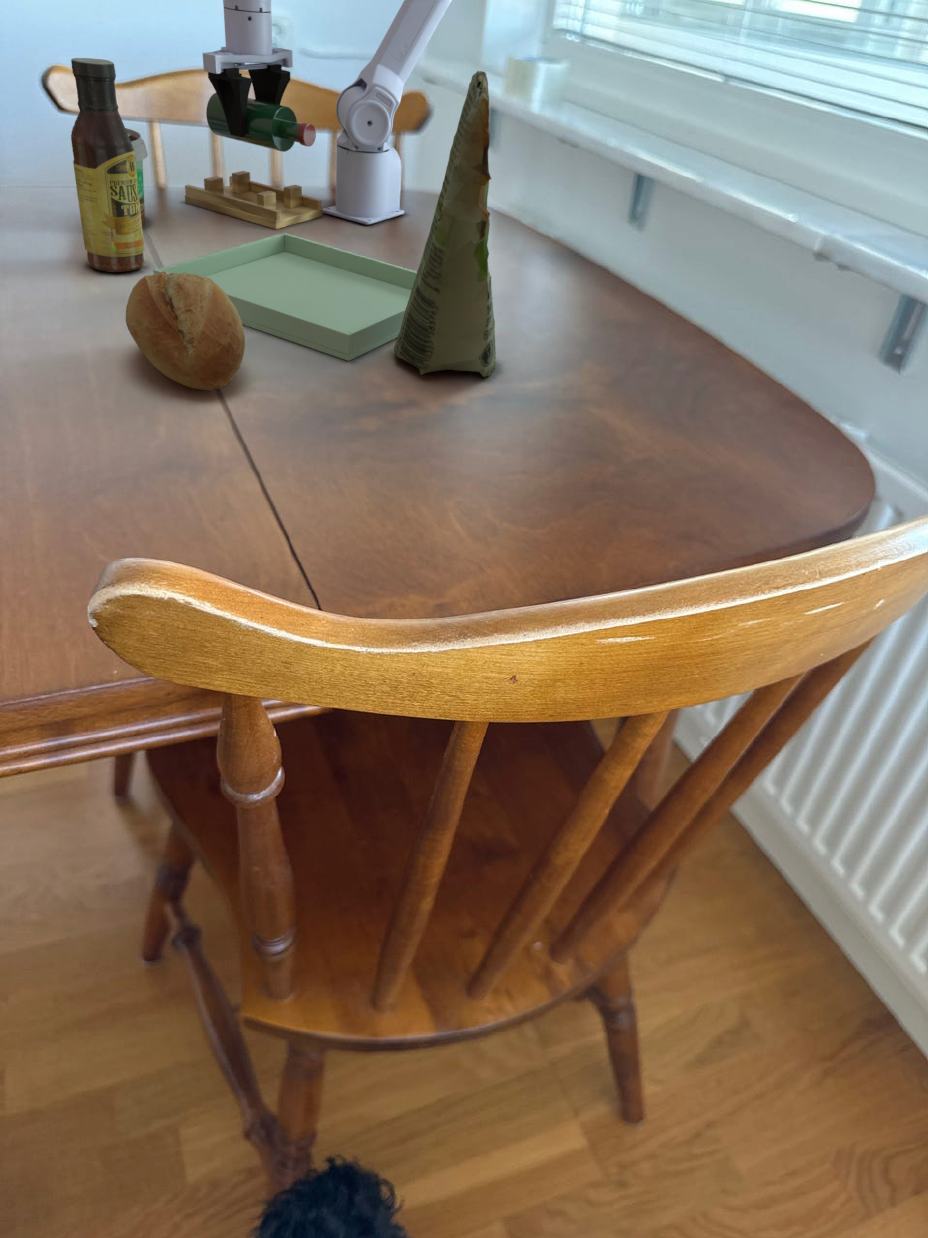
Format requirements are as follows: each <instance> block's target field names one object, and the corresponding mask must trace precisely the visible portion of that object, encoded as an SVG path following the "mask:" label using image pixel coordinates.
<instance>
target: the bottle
mask: <svg viewBox="0 0 928 1238" xmlns="http://www.w3.org/2000/svg"><path fill="white" fill-rule="evenodd" d="M206 104H207V105H206V112H205V114H206V115H205V116H206V121H207V125H208V127H209V129H210V130H211V132H212V133H213V134H214V135H215V136H220V137H224V138H227V139H231V140H235V141H238V142H243V143H247V144H250V145H255V146H259V147H262V148H267V149H271V150H275V151H278V152H281V153H282V152H283V153H284V152H288V151H290V150H291V149H292V148H293V146H294V145H295V143H299V144H300V145H301V146H304V147H309V148H310V147H312V146H313V145H314V143H315V141H316V138H317V131H316V127H315V126H314V125H313V124H312V123H309V122H302V123H301V122H298V120H297V116H296V114H295V112H294V110H293V109H291V107H290V106H286V105H282V104H280V105H278V104H273V103H269V102H265V101H260V100H256V99H255V98H252V97H248V101H247V125H246V136H245V137H238V136H234V135H230V131H229V128H228V124H227V120H226V117H225V114H224V111H223V107H222V105H221V102H220V100H219V97H218V95H217V93H216V92H214V93H212V95H211V96H210V97H209V99H208V102H207V103H206Z"/></svg>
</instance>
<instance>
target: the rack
mask: <svg viewBox="0 0 928 1238" xmlns="http://www.w3.org/2000/svg"><path fill="white" fill-rule="evenodd" d="M228 179H229V180H228V181H229V185H226V186H224V178H223V177H221V176H217V175H215V176H211V177H210V176H209V177H206V178H203V185H204V186H203V187H204V188H202V187H199V186H196V185H192V184H185V185H184V190H185V192H184V193H185V194H184V203H185V204H188V205H192V206H196V207H199V208H202V209H204V210H205V209H206V210H209V211H212V212H215V213H219V214H223V215H226V216H229V217H232V218H237V219H239V220H243V221H247V222H250V223H254V224H257V225H260V226H263V227H266V228H271V229H273V230H279V229H282V228H285V227H289V226H293V225H296V224H297V225H298V224H300V223H305V222H308V221H310V220H314V219H318V218H322V217H323V208H322V205H323V203H322V202H323V201H322V199H319V198H315V197H312V196H308V195H305V194H303V193H302V192H303V187H302V185H298V184H291V185H288V186H284V187H283V188H279V187H275V186H272V185H268V184H264V183H261V182H257V181H253V180H251V173H250V171H246V170H241V171H236V172H232V173H231V175H230V176H229V177H228Z"/></svg>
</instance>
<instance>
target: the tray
mask: <svg viewBox="0 0 928 1238" xmlns="http://www.w3.org/2000/svg"><path fill="white" fill-rule="evenodd" d="M163 271H164V272H166V274H167V275H169V274H170V273H188V274H194V275H198V276H202V277H207V278H210V279H211V280H212V281H213V282H215V283H216V284H217V285H218V286H219V287H220V288H221V289H222V290H223V291H224V292H225V293H226V294H227V296H228V297H229V299H230V300H231V302H232V303H233V305H234V306H235V308H236V309H237V311H238V314H239V316H240V319H241V321H242V325H243V326H246V327H249V328H252V329H255V330H258V331H261V332H263V333H265V334H269V335H272V336H275V337H278V338H281V339H284V340H286V341H290V342H292V343H294V344H298V345H301V346H304V347H307V348H310V349H312V350H315V351H318V352H322V353H324V354H327V355H330V356H333V357H336V358H338V359H341V360H344V361H347V362H349V361H352V360H354V359H355V358H358V357H360V356H362V355H364V354H366V353H368V352H370V351H372V350H374V349H376V348H379V347H381V346H383V345H385V344H387V343H389V342H391V341H393V340H396V339H397V338H398V334H399V332H400V329H401V325H402V321H403V317H404V313H405V310H406V307H407V304H408V301H409V297H410V294H411V291H412V288H413V284H414V281H415V278H416V275H417V271H418V270H417V271H416V270H414V269H410V268H406V267H404V266H400V265H396V264H392V263H389V262H386V261H383V260H380V259H376V258H372V257H369V256H365V255H362V254H359V253H355V252H351V251H349V250H345V249H342V248H340V247H339V248H338V247H335V246H332V245H328V244H325V243H322V242H318V241H315V240H311V239H308V238H304V237H301V236H297V235H294V234H291V233H288V232H280V233H276V234H274V235H270V236H267V237H264V238H263V237H262V238H260V239H256V240H253V241H249V242H245V243H242V244H238V245H236V246H232V247H227V248H225V249H221V250H217V251H214V252H210V253H207V254H204V255H201V256H197V257H194V258H189V259H186V260H182V261H180V262H176V263H172V264H169V265H166V266H162V267H158V268H155V269H153V271H152V272H153V275H154V274H157V273H160V272H163Z"/></svg>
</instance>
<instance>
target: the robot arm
mask: <svg viewBox="0 0 928 1238" xmlns="http://www.w3.org/2000/svg"><path fill="white" fill-rule="evenodd" d="M452 1H453V0H403V2H402V3H401V5H400V7H399V9H398V11H397V13H396V14H395V17H393V20H392V22H391V24H390V26H389V27H388V29H387V31H386V33H385V34H384V37H383V39H382V40H381V43H380V44H379V46H378V47H377V50H376V52H375V53H374V55H373V57H372V59H371V60H370V61H369V62H368V63H367V64H366V65H365V66H364V67H363V69H361V71H360V72H359V75H358V76H357V77H356V79H355V81H354V82H352V84H350V85H348V86H347V87H345V88H344V89H343V90H342V91H341V92H340V93H339V95H338V97H337V100H336V104H335V113H336V118H337V121H338V123H339V125H340V126H341V128H342V130H341V133H340V135H338V137H337V138H336V145H335V146H336V147H335V148H336V152H335V154H336V155H335V158H336V159H335V205H332V206H329V207H325V208H322V214H326V215H331V216H334V217H337V218H342V219H345V220H348V221H351V222H356V223H359V224H363V225H369V226H370V225H373V224H376V223H379V222H383V221H385V220H390V219H392V218H396V217H399V216H401V215H404V214H405V210H404V209H401V207H400V206H401V189H402V188H401V187H402V171H403V169H402V167H403V166H402V161H401V158H400V155H399V153H398V151H397V150H396V148H394V146H392V145H391V144H390V142H389V141H388V140H389V139H390V137H391V135H392V131H393V125H394V118H395V114H396V111H397V110H398V108H399V107H400V104H401V101H402V96H403V90H404V86H405V84H406V82H407V80H408V79H409V77H410V76H411V73H412V71H413V70H414V68H415V66H416V64H417V62H418V61H419V59H420V57H421V56H422V54H423V52H424V50H425V48H426V47H427V46H428V43H429V41H431V38H432V36H433V34H434V33H435V31H436V29H437V27H438V26H439V24H440V22H441V21H442V19H443V17H444V15H445V13H446V11H447V10H448V8H449V6H450V5H451V3H452ZM222 2H223V3H222V5H223V20H224V21H223V23H224V40H225V46H220V49H218V50H214V51H208V52H202V62H203V64H202V65H203V72H204V73H205V72H206V73H207V78H208V80H209V82H210V83H211V85H212V87H213V89H214V91H215V93H217V95H218V97H219V100H220V102H221V105H222V107H223V111H224V114H225V117H226V120H227V124H228V128H229V131H230V135H234V136H238V137H245V136H246V125H247V101H248V98H249V94H250V89H251V86H252V89H253V93H254V99H256V100H260V101H265V102H269V103H273V104H278V105H281V102H282V99H283V96H284V94H285V91H286V89H287V88H288V85H289V83H290V81H291V71H289V70H284V69H283V68H287V69H291V68H293V66H294V65H293V64H294V63H293V50H292V49H287V48H281V47H280V48H279V47H278V48H277V47H273V22H272V21H273V19H272V0H222ZM240 71H247V72H248V75H249V77H247V76H243V74H242V73H240Z"/></svg>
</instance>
